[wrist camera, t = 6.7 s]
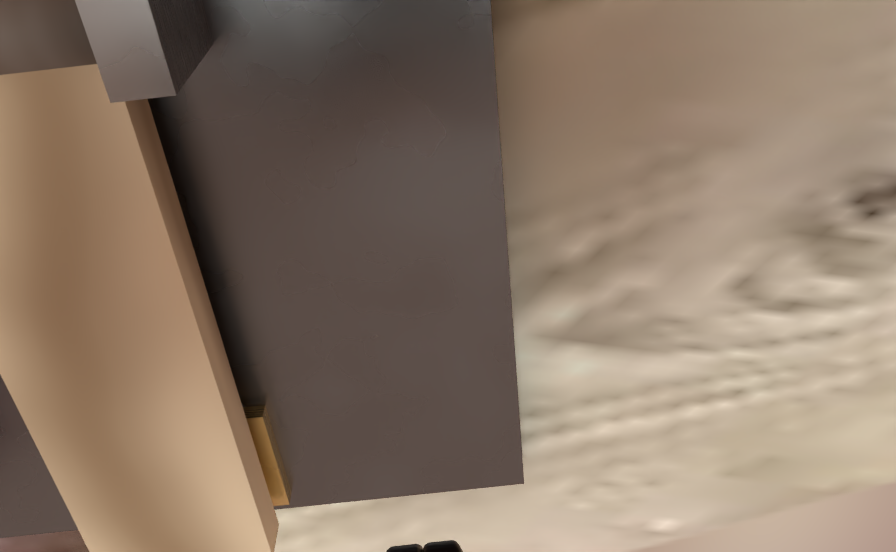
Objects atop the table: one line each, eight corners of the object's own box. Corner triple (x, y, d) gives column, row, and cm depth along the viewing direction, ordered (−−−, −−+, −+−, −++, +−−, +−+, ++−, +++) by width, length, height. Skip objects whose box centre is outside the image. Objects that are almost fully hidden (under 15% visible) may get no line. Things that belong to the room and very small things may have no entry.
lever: (111, -37, 16) (78, -21, 14) (280, 516, 24) (271, 565, 22) (-136, -9, 16) (-194, 12, 14) (117, 533, 24) (97, 583, 22)
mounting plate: (474, -178, 16) (493, -165, 12) (519, 460, 25) (538, 570, 22) (-499, -64, 16) (-755, -18, 12) (-87, 523, 26) (-165, 642, 22)
